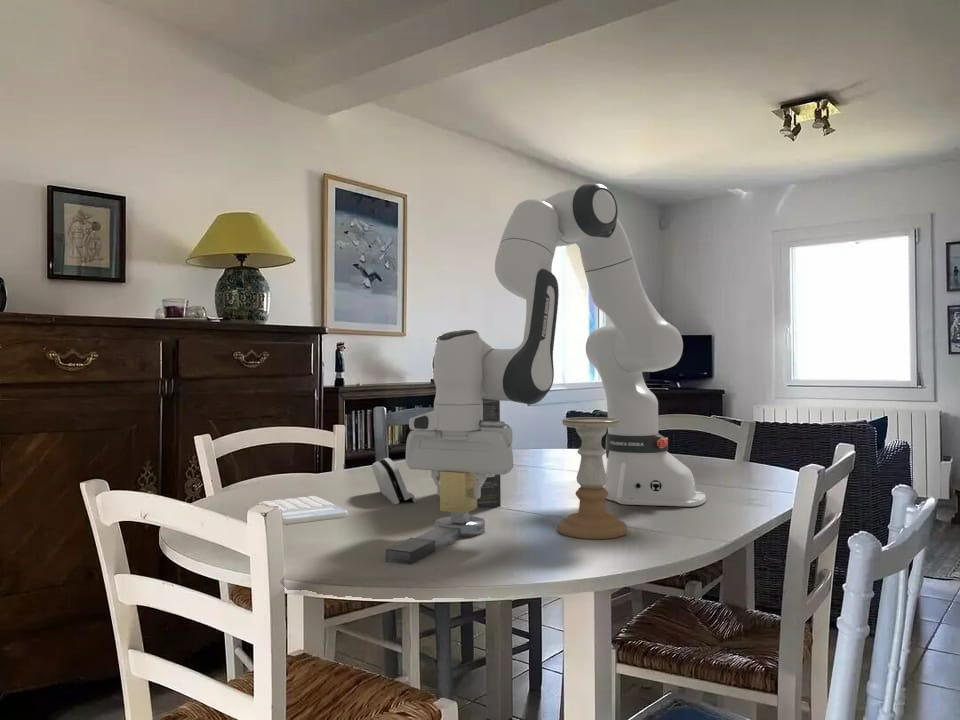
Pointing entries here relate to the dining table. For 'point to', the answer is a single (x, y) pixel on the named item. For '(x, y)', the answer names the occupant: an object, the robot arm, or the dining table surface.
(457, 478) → the tan rectangular block
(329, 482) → the dining table surface
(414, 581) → the dining table surface
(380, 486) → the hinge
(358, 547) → the dining table surface
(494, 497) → the cake mix box
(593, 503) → the candle holder
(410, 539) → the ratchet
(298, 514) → the calculator
